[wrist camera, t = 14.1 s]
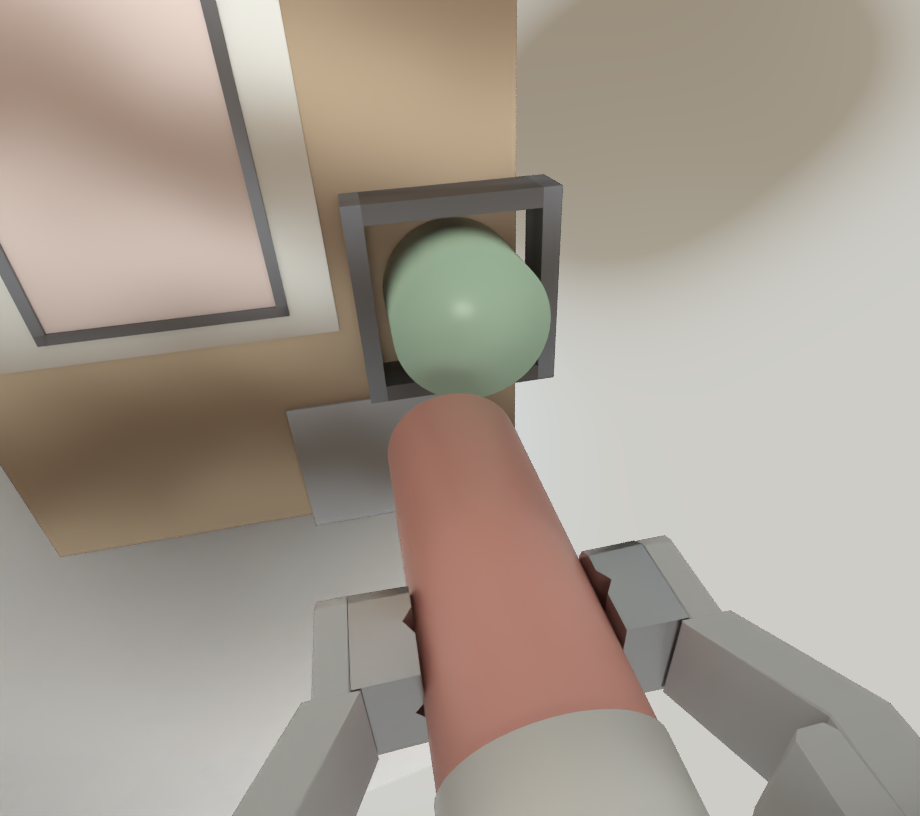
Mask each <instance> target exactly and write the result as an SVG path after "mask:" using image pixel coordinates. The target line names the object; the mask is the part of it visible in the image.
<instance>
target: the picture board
mask: <svg viewBox="0 0 920 816" xmlns="http://www.w3.org/2000/svg"><path fill="white" fill-rule="evenodd" d="M516 42H517V0H0V465H1V467H2V468H3V470H4V471H5V473H6V474H7V476H8V477H9V479H10V480H11V482H12V484H13V485H14V487H15V488H16V490H17V491H18V493H19V494H20V496H21V497H22V499H23V501H24V502H25V504H26V505H27V507H28V508H29V510H30V511H31V513H32V514H33V516H34V518H35V519H36V521H37V522H38V524H39V525H40V527H41V528H42V530H43V531H44V533H45V535H46V536H47V538H48V539H49V541H50V542H51V544H52V545H53V547H54V548H55V550H56V552H57V553H58V555H59V556H60V557H64V556H70V555H76V554H81V553H87V552H93V551H99V550H105V549H111V548H117V547H122V546H128V545H134V544H140V543H146V542H152V541H157V540H163V539H169V538H175V537H181V536H187V535H192V534H198V533H204V532H210V531H216V530H222V529H227V528H233V527H239V526H245V525H251V524H257V523H262V522H268V521H274V520H280V519H286V518H292V517H297V516H303V515H309V514H313V515H314V519H315V523H316V526H317V525H323V524H328V523H334V522H340V521H346V520H351V519H357V518H363V517H369V516H374V515H380V514H386V513H392V512H396V510H395V503H394V496H393V489H392V482H391V475H390V468H389V461H388V445H389V441H390V437H391V435H392V433H393V431H394V429H395V427H396V426H397V424H398V423H399V421H400V420H401V419H402V418H403V417H404V416H405V415H406V414H407V413H408V412H409V411H410V410H412V409H413V408H415V407H416V406H417V405H419V404H421V403H423V402H425V401H427V400H429V399H432V398H434V397H438V396H440V395H437V394H434V393H432V392H430V391H428V390H426V389H424V388H423V387H421V386H420V385H419V384H417V383H416V382H415V381H414V380H413V379H412V378H411V377H410V376H409V375H408V374H407V373H406V371H405V370H404V369H403V367H402V365H401V363H400V362H399V360H398V357H397V354H396V351H395V348H394V343H393V339H392V334H391V330H390V325H389V321H388V316H387V311H386V307H385V302H384V297H383V277H384V273H385V268H386V266H387V263H388V260H389V258H390V256H391V254H392V253H393V251H394V250H395V248H396V247H397V245H398V244H399V243H400V242H401V241H402V240H403V239H404V238H405V237H406V236H407V235H408V234H409V233H411V232H412V231H413V230H415V229H416V228H418V227H420V226H422V225H424V224H426V223H428V222H431V221H434V220H437V219H442V218H452V217H458V218H467V219H471V220H475V221H477V222H480V223H482V224H484V225H486V226H488V227H489V228H491V229H492V230H494V231H495V232H496V233H497V234H498V235H499V236H500V237H501V238H502V239H503V240H504V241H505V242H506V243H507V244H508V245H509V246H510V247H511V249H512V250H513V251H514V252H515V253H516V251H515V250H516V249H515V248H516V245H515V244H516V238H515V237H516V210H525V209H526V242H525V244H526V246H525V264H526V265H527V266H528V267H529V268H530V269H531V270H532V271H533V272H534V274H535V275H536V276H537V277H538V279H539V280H540V282H541V283H542V285H543V287H544V289H545V291H546V294H547V297H548V300H549V305H550V311H551V322H550V330H549V334H548V338H547V341H546V344H545V346H544V349H543V351H542V353H541V354H540V356H539V358H538V359H537V361H536V362H535V364H534V365H533V366H532V367H531V368H530V370H529V371H528V372H527V373H526V374H525V375H524V376H523V377H521V378H520V379H519V380H518V381H516V382H523V381H529V380H537V379H543V378H550V377H553V376H554V358H555V357H554V356H555V337H556V317H557V297H558V276H559V255H560V236H561V215H562V213H561V212H562V193H563V185H562V184H560V183H558V182H556V181H555V180H553V179H551V178H550V177H548V176H546V175H544V174H542V175H532V176H521V177H516V47H517V46H516V45H517V43H516ZM516 382H515V383H516ZM515 383H514V384H512V385H511V386H509V387H507V388H505V389H504V390H501V391H499V392H497V393H495V394H491V395H488V396H485V397H484V398H486V399H489V400H491V401H493V402H494V403H496V404H497V405H498V406H500V407H501V408H502V409H503V410H504V411H505V413H506V414H507V415H508V417H509V418H510V420H511V422H512V424H513V426H514V428H515Z"/></svg>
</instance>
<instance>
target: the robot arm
mask: <svg viewBox="0 0 920 816" xmlns="http://www.w3.org/2000/svg"><path fill="white" fill-rule="evenodd" d="M579 561H580V563H581V565H582V567H583V569H584V571H585V573H586V575H587V577H588V579H589V581H590V583H591V585H592V587H593V589H594V591H595V593H596V595H597V598H598V600H599V602H600V604H601V606H602V608H603V610H604V612H605V614H606V616H607V618H608V620H609V622H610V624H611V626H612V628H613V630H614V632H615V634H616V636H617V638H618V640H619V642H620V644H621V647H622V649H623V651H624V653H625V655H626V657H627V659H628V661H629V663H630V665H631V667H632V669H633V671H634V673H635V675H636V677H637V679H638V681H639V683H640V685H641V687H642V689H643V691H644V692H649V691H654V690H659V689H664V690H663V692H664V693H665V694H667V695H668V696H669V697H670V698H671V699H672V700H674V701H675V702H676V703H677V704H678V705H679V706H681V707H682V708H683V709H684V710H685V711H686V712H688V713H689V714H690V715H691V716H692V717H693V718H695V719H696V720H697V721H698V722H699V723H700V724H702V725H703V726H704V727H705V728H706V729H707V730H709V731H710V732H711V733H712V734H713V735H714V736H716V737H717V738H718V739H719V740H720V741H721V742H723V743H724V744H725V745H726V746H727V747H728V748H730V749H731V750H732V751H733V752H734V753H735V754H737V755H738V756H739V757H740V758H741V759H742V760H744V761H745V762H746V763H747V764H748V765H749V766H751V767H752V768H753V769H754V770H756V772H758V773H759V774H760V775H761V776H762V777H763V778H765V779H766V780H767V781H768V784H767V786H766V788H765V790H764V791H763V793H762V795H761V797H760V799H759V801H758V803H757V804H756V806H755V809H754V813H753V816H920V737H919V736H918V735H917V734H916V733H915V731H914V730H913V729H912V728H911V727H910V725H909V724H908V723H907V722H906V721H905V720H904V718H903V717H902V716H901V715H900V714H899V713H898V711H896V709H895V708H894V707H893V706H892V705H891V703H889V702H887V701H886V700H884V699H882V698H880V697H879V696H877V695H875V694H873V693H872V692H870V691H868V690H867V689H865V688H863V687H862V686H860V685H858V684H856V683H855V682H853V681H851V680H849V679H848V678H846V677H844V676H843V675H841V674H839V673H837V672H836V671H834V670H832V669H831V668H828V667H827V666H825V665H823V664H822V663H820V662H819V661H817V660H815V659H813V658H812V657H810V656H808V655H806V654H805V653H803V652H801V651H800V650H798V649H796V648H794V647H793V646H791V645H789V644H787V643H786V642H784V641H782V640H781V639H779V638H777V637H775V636H774V635H772V634H770V633H769V632H767V631H765V630H763V629H762V628H760V627H758V626H757V625H755V624H753V623H751V622H750V621H748V620H746V619H745V618H743V617H741V616H739V615H737V614H736V613H734V612H732V611H724V612H722V611H721V610H720V608H719V607H718V606H717V604H716V603H715V602H714V600H713V598H712V597H711V596H710V594H709V593H708V591H707V590H706V589H705V587H704V586H703V584H702V583H701V581H700V580H699V579H698V577H697V576H696V575H695V573H694V572H693V570H692V569H691V567H690V566H689V565H688V563H687V562H686V560H685V559H684V558H683V556H682V555H681V553H680V552H679V550H678V549H677V548H676V546H675V545H674V543H673V542H672V541H671V539H669V538H668V537H666V536H665V535H664V536H658V537H653V538H648V539H643V540H638V541H631V542H625V543H620V544H616V545H611V546H606V547H601V548H596V549H592V550H586V551H582V552H581V554H580V556H579ZM424 698H425V696H424V688H423V681H422V674H421V667H420V660H419V653H418V647H417V641H416V635H415V626H414V619H413V613H412V607H411V600H410V594H409V588H408V586H406V587H400V588H394V589H388V590H382V591H376V592H370V593H364V594H358V595H352V596H346V597H341V598H335V599H330V600H324V601H319V602H316V606H315V610H314V625H313V660H312V695H311V701H307V702H303V703H301V705H300V706H299V708H298V709H297V711H296V713H295V714H294V716H293V718H292V719H291V721H290V722H289V724H288V726H287V727H286V729H285V731H284V732H283V734H282V735H281V737H280V739H279V740H278V742H277V743H276V745H275V747H274V748H273V750H272V752H271V753H270V755H269V756H268V758H267V760H266V761H265V763H264V765H263V766H262V768H261V769H260V771H259V773H258V774H257V776H256V778H255V779H254V781H253V782H252V784H251V786H250V787H249V789H248V791H247V792H246V794H245V795H244V797H243V799H242V800H241V802H240V804H239V805H238V807H237V808H236V810H235V812H234V813H233V815H232V816H356V814H357V812H358V809H359V807H360V804H361V802H362V799H363V797H364V794H365V792H366V789H367V787H368V784H369V782H370V779H371V777H372V774H373V772H374V769H375V767H376V765H377V762H378V760H379V758H378V755H380V754H384V753H388V752H392V751H395V750H399V749H403V748H407V747H411V746H414V745H418V744H422V743H426V742H429V739H428V732H427V725H426V718H425V711H424Z"/></svg>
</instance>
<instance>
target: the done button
mask: <svg viewBox="0 0 920 816" xmlns="http://www.w3.org/2000/svg"><path fill="white" fill-rule="evenodd" d="M383 297H384V302H385V307H386V311H387V316H388V321H389V325H390V330H391V334H392V339H393V343H394V348H395V351H396V354H397V357H398V360H399V362H400V363H401V365H402V367H403V369H404V370H405V371H406V373H407V374H408V375H409V376H410V377H411V378H412V379H413V380H414V381H415V382H416V383H417V384H419V385H420V386H421V387H423V388H424V389H426V390H428V391H430V392H432V393H434V394H437V395H440V396H441V395H446V394H454V393H465V394H473V395H478V396H481V397H485V396H488V395H491V394H495V393H497V392H499V391H501V390H504V389H505V388H507V387H509V386H511V385H512V384H514V383H515V382H516V381H518V380H519V379H520V378H521V377H523V376H524V375H525V374H526V373H527V372H528V371H529V370H530V368H531V367H532V366H533V365H534V364H535V362H536V361H537V359H538V358H539V356H540V354H541V353H542V351H543V349H544V346H545V344H546V341H547V338H548V334H549V330H550V322H551V311H550V305H549V300H548V297H547V294H546V291H545V289H544V287H543V285H542V283H541V282H540V280H539V279H538V277H537V276H536V275H535V274H534V272H533V271H532V270H531V269H530V268H529V267H528V266H527V265H526V264H525V263H524V262H523V261H522V259H521V258H520V257H519V256H518V255H517V254H516V253H515V252H514V251H513V250H512V249H511V247H510V246H509V245H508V244H507V243H506V242H505V241H504V240H503V239H502V238H501V237H500V236H499V235H498V234H497V233H496V232H495V231H494V230H492V229H491V228H489V227H488V226H486V225H484V224H482V223H480V222H477V221H475V220H471V219H467V218H458V217H452V218H442V219H437V220H434V221H431V222H428V223H426V224H424V225H422V226H420V227H418V228H416V229H415V230H413V231H412V232H411V233H409V234H408V235H407V236H406V237H405V238H404V239H403V240H402V241H401V242H400V243H399V244H398V245H397V247H396V248H395V250H394V251H393V253H392V254H391V256H390V258H389V260H388V263H387V266H386V268H385V273H384V277H383Z"/></svg>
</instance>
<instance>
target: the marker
mask: <svg viewBox="0 0 920 816" xmlns="http://www.w3.org/2000/svg"><path fill="white" fill-rule="evenodd" d="M388 461H389V468H390V475H391V482H392V489H393V496H394V503H395V510H396V517H397V524H398V531H399V538H400V545H401V552H402V559H403V566H404V572H405V579H406V586H408V588H409V594H410V600H411V607H412V613H413V619H414V626H415V635H416V641H417V647H418V653H419V660H420V667H421V674H422V681H423V688H424V696H425V698H424V711H425V718H426V725H427V732H428V739H429V746H430V753H431V760H432V767H433V774H434V781H435V788H436V797H435V803H434V809H435V816H709V814H708V812H707V810H706V808H705V806H704V804H703V802H702V800H701V798H700V796H699V794H698V792H697V790H696V788H695V786H694V784H693V782H692V780H691V778H690V776H689V774H688V772H687V770H686V768H685V766H684V764H683V762H682V760H681V757H680V755H679V753H678V752H677V749H676V747H675V745H674V743H673V741H672V739H671V738H670V735H669V733H668V732H667V730H666V728H665V727H664V725H663V724H661V723H660V722H659V721H658V720H657V718H656V716H655V714H654V712H653V710H652V708H651V706H650V704H649V702H648V700H647V698H646V695H645V693H644V691H643V689H642V687H641V685H640V683H639V681H638V679H637V677H636V675H635V673H634V671H633V669H632V667H631V665H630V663H629V661H628V659H627V657H626V655H625V653H624V651H623V649H622V647H621V644H620V642H619V640H618V638H617V636H616V634H615V632H614V630H613V628H612V626H611V624H610V622H609V620H608V618H607V616H606V614H605V612H604V610H603V608H602V606H601V604H600V602H599V600H598V598H597V595H596V593H595V591H594V589H593V587H592V585H591V583H590V581H589V579H588V577H587V575H586V573H585V571H584V569H583V567H582V565H581V563H580V561H579V559H578V557H577V555H576V553H575V551H574V549H573V547H572V544H571V543H570V540H569V539H568V536H567V534H566V532H565V530H564V528H563V526H562V524H561V522H560V520H559V518H558V516H557V514H556V512H555V510H554V508H553V506H552V504H551V502H550V500H549V498H548V496H547V493H546V492H545V489H544V487H543V486H542V483H541V481H540V479H539V477H538V475H537V473H536V471H535V469H534V467H533V465H532V463H531V461H530V459H529V457H528V455H527V453H526V451H525V449H524V447H523V444H522V443H521V440H520V438H519V436H518V434H517V432H516V430H515V428H514V426H513V424H512V422H511V420H510V418H509V417H508V415H507V414H506V413H505V411H504V410H503V409H502V408H501V407H500V406H498V405H497V404H496V403H494V402H493V401H491V400H489V399H486V398H484V397H481V396H478V395H473V394H465V393H454V394H446V395H441V396H438V397H434V398H432V399H429V400H427V401H425V402H423V403H421V404H419V405H417V406H416V407H415V408H413V409H412V410H410V411H409V412H408V413H407V414H406V415H405V416H404V417H403V418H402V419H401V420H400V421H399V423H398V424H397V426H396V427H395V429H394V431H393V433H392V435H391V437H390V441H389V445H388Z"/></svg>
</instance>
